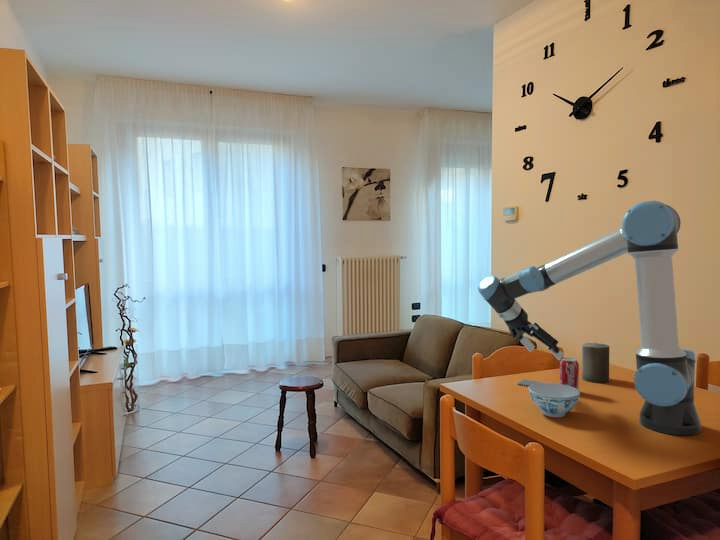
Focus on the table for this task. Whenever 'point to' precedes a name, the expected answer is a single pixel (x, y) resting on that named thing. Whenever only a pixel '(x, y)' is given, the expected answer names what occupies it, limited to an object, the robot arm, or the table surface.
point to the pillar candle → (595, 362)
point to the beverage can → (569, 372)
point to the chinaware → (554, 398)
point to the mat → (528, 382)
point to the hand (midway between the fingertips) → (546, 353)
